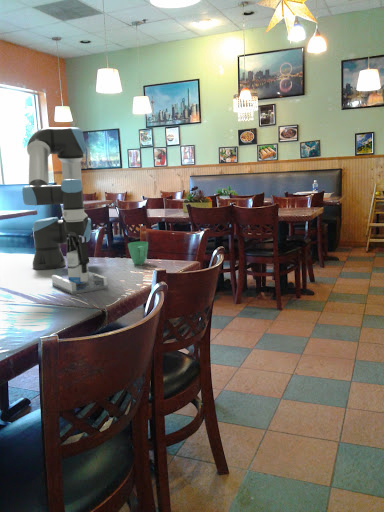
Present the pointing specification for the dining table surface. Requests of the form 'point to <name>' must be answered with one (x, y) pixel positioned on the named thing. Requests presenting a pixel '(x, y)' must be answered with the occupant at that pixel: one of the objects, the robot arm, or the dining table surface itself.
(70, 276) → the ink box
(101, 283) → the whitish low flat box
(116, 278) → the dining table surface
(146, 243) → the mug
